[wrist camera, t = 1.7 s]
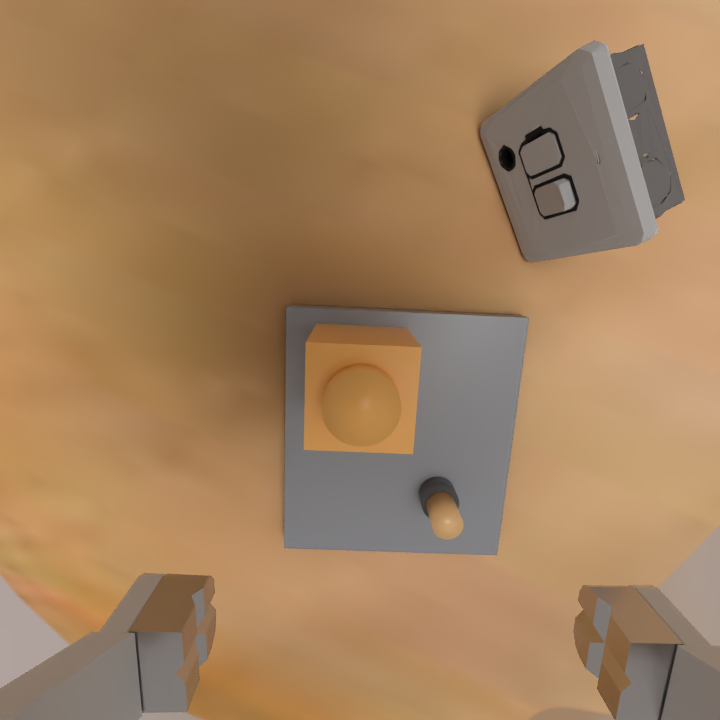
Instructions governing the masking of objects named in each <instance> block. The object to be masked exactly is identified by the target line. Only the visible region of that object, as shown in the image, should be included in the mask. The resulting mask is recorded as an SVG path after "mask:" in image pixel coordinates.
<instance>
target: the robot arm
mask: <svg viewBox="0 0 720 720" xmlns="http://www.w3.org/2000/svg"><path fill="white" fill-rule="evenodd" d="M214 593H215V587H214V579H213V577H212V576H203V575H183V574H154V573H144V574H142V575H140V576H139V577H138V578H137V579H136V581H135V582H134V584H133V585H132V586H131V588H130V589H129V591H128V592H127V593H126V595H125V596H124V598H123V599H122V600H121V602H120V603H119V605H118V606H117V608H116V609H115V610H114V612H113V613H112V615H111V616H110V617H109V619H108V620H107V622H106V623H105V625H104V626H103V627H102V629H101V630H100V632H91V633H89V634H88V635H86V636H84V637H83V638H81V639H80V640H78V641H76V642H75V643H73V644H71V645H70V646H68V647H67V648H65V649H64V650H62V651H60V652H59V653H57V654H55V655H54V656H52V657H51V658H49V659H47V660H46V661H44V662H42V663H41V664H39V665H38V666H36V667H34V668H33V669H31V670H30V671H28V672H26V673H25V674H23V675H21V676H20V677H18V678H17V679H15V680H13V681H12V682H10V683H8V684H7V685H5V686H4V687H2V688H0V720H138V719H139V718H140V717H141V716H142V713H152V712H153V713H154V712H187V711H188V709H189V706H190V703H191V701H192V698H193V696H194V693H195V691H196V688H197V685H198V683H199V680H200V677H199V666H201V665H202V664H203V663H204V662H205V661H207V659H208V656H209V654H210V651H211V648H212V644H213V639H214V635H215V628H216V609H215V608H214V607H213V606H212V605H211V600H212V598H213V595H214ZM578 602H579V603H580V605H581V606H582V608H583V611H582V612H581V613H580V614H579V615H578V616H577V617H576V618H575V624H574V638H575V645H576V648H577V651H578V654H579V657H580V659H581V660H582V662H583V664H584V666H585V668H586V669H587V670H589V671H590V672H591V673H592V674H594V675H595V676H596V677H598V678H599V680H598V686H597V689H598V691H599V693H600V695H601V696H602V698H603V700H604V702H605V703H606V705H607V707H608V709H609V710H610V712H611V714H612V716H613V718H614V719H615V720H720V646H711V645H710V644H709V642H708V641H707V640H706V639H705V638H704V637H703V636H702V635H701V634H700V633H699V632H698V631H697V630H696V629H695V627H694V626H693V625H692V624H691V623H690V622H689V621H688V620H687V619H686V618H685V617H684V616H683V614H682V613H681V612H680V611H679V610H678V609H677V608H676V607H675V606H674V605H673V604H672V603H671V602H670V601H669V600H668V598H667V597H666V596H665V595H664V594H663V593H662V592H661V591H660V590H659V589H658V588H656V587H654V586H653V585H629V586H611V585H583V586H582V588H581V589H580V592H579V597H578Z"/></svg>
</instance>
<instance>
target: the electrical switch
mask: <svg viewBox="0 0 720 720" xmlns="http://www.w3.org/2000/svg"><path fill="white" fill-rule="evenodd" d="M639 45H640V44H639ZM640 71H642V72H643V75H642V73H641V72H640ZM636 114H638V116H637V117H636V119H635V120H628V119H629V118H631V117H633V116H635V115H636ZM480 136H481V139H482V142H483V145H484V148H485V150H486V153H487V156H488V159H489V162H490V164H491V167H492V170H493V173H494V176H495V178H496V181H497V184H498V187H499V190H500V192H501V195H502V198H503V201H504V204H505V206H506V209H507V212H508V215H509V218H510V220H511V223H512V226H513V229H514V232H515V234H516V237H517V240H518V243H519V246H520V248H521V251H522V254H523V256H524V258H525V259H526V260H528V261H529V262H531V263H532V262H538V261H545V260H551V259H557V258H563V257H569V256H575V255H581V254H587V253H593V252H599V251H605V250H611V249H617V248H623V247H629V246H635V245H638V244H640V243H643V242H645V241H647V240H649V239H651V238H652V237H653V236H654V235H655V234H656V233H657V232H658V231H659V230H658V226H657V223H656V218H658V217H660V216H661V215H662V214H663V213H664V212H665V211H666V210H668V209H670V208H672V207H674V206H676V205H678V204H680V203H682V201H684V200H685V199H684V195H683V191H682V187H681V184H680V180H679V176H678V172H677V169H676V165H675V161H674V157H673V154H672V150H671V146H670V142H669V138H668V135H667V131H666V127H665V123H664V120H663V116H662V112H661V108H660V105H659V101H658V97H657V93H656V90H655V86H654V82H653V78H652V74H651V71H650V67H649V63H648V59H647V56H646V52H645V48H644V44H642V45H640V46H638V45H637V46H635V47H633V48H631V49H629V50H626V51H624V52H621V53H613V54H611V55H610V53H609V50H608V46H607V44H604V43H601V42H597V41H592V42H591V43H589V44H587V45H585V46H583V47H581V48H579V49H577V50H576V51H575V52H573V53H572V54H571V55H570V56H568V57H567V58H566V59H564V60H563V61H562V62H560V63H559V64H558V65H557V66H555V67H554V68H553V69H551V70H550V71H549V72H547V73H546V74H545V75H544V76H542V77H541V78H540V79H538V80H537V81H536V82H534V83H533V84H532V85H531V86H529V87H528V88H527V89H525V90H524V91H523V92H521V93H520V94H519V95H518V96H516V97H515V98H514V99H512V100H511V101H510V102H508V103H507V104H506V105H505V106H503V107H502V108H501V109H499V110H498V111H497V112H495V113H494V114H493V115H492V116H490V117H489V118H488V119H486V120H485V121H484V122H482V124H481V129H480ZM647 153H648V154H647ZM644 154H647V155H646V156H644ZM643 156H644V157H643ZM652 159H655V160H652ZM670 172H671V174H670ZM667 194H668V196H666V195H667Z"/></svg>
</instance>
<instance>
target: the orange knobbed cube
mask: <svg viewBox="0 0 720 720" xmlns="http://www.w3.org/2000/svg"><path fill="white" fill-rule="evenodd" d="M421 349H422V347H421V346H420V344H419V343H418V342H417V340H416V339H415V337H414V336H413V335H412V333H411V332H410V331H409V329H408V328H407V327H384V326H362V325H339V324H317V323H316V325H315V327H314V329H313V330H312V332H311V334H310V336H309V337H308V339H307V341H306V353H305V406H304V450H317V451H343V452H369V453H395V454H413V449H414V436H415V424H416V412H417V399H418V387H419V374H420V362H421Z"/></svg>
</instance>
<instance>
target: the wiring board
mask: <svg viewBox="0 0 720 720" xmlns="http://www.w3.org/2000/svg"><path fill="white" fill-rule="evenodd" d="M528 322H529V318H528V317H525V316H522V315H511V314H489V313H466V312H444V311H422V310H400V309H378V308H356V307H334V306H312V305H290V304H289V305H288V306H287V307H286V387H285V509H284V548H294V549H323V550H353V551H383V552H413V553H442V554H472V555H497V551H498V544H499V537H500V529H501V522H502V514H503V507H504V500H505V492H506V485H507V477H508V470H509V463H510V455H511V448H512V440H513V433H514V425H515V418H516V411H517V403H518V396H519V388H520V381H521V374H522V366H523V359H524V351H525V344H526V337H527V329H528ZM316 323H317V324H339V325H362V326H384V327H407V328H408V329H409V331H410V332H411V333H412V335H413V336H414V337H415V339H416V340H417V342H418V343H419V344H420V346H421V347H422V349H421V362H420V374H419V387H418V399H417V412H416V424H415V436H414V449H413V454H395V453H369V452H343V451H317V450H304V406H305V353H306V341H307V339H308V337H309V336H310V334H311V332H312V330H313V329H314V327H315V325H316Z"/></svg>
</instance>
